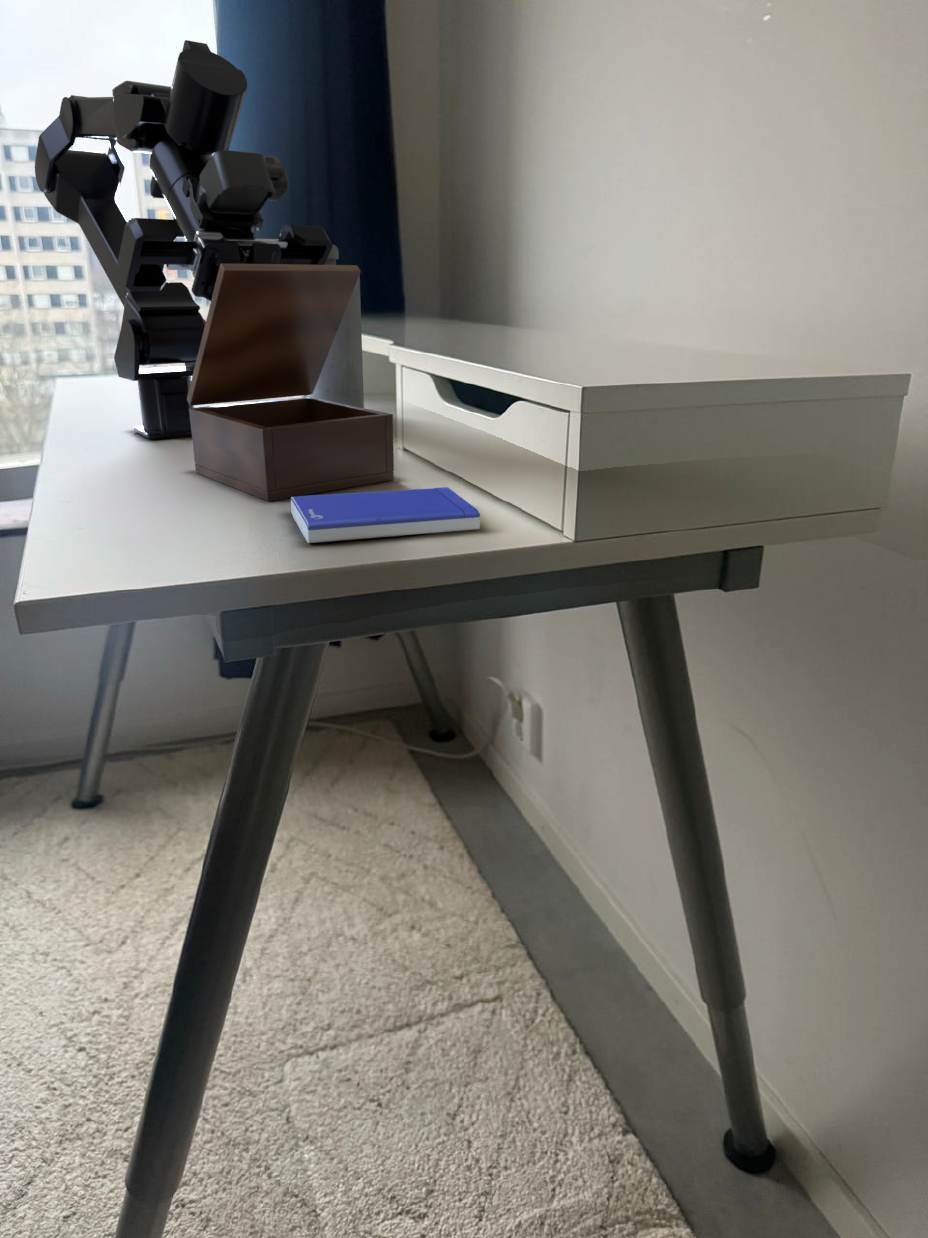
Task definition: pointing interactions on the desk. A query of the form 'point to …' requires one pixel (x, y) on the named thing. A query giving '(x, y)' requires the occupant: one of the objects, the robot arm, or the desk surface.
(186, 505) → the desk surface
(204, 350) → the lid
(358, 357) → the flask
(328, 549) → the desk surface
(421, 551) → the desk surface
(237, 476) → the keepsake box
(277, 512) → the desk surface
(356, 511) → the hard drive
